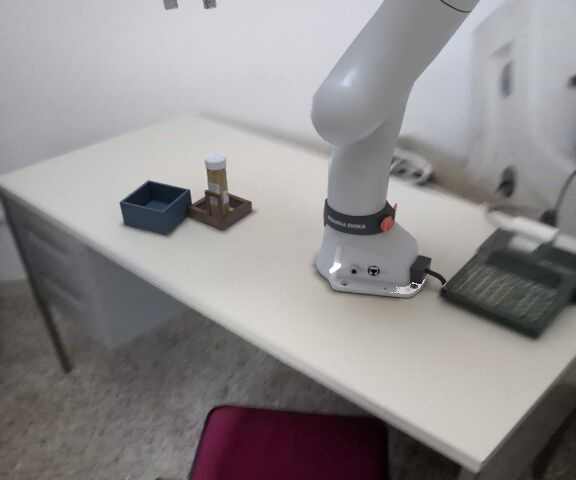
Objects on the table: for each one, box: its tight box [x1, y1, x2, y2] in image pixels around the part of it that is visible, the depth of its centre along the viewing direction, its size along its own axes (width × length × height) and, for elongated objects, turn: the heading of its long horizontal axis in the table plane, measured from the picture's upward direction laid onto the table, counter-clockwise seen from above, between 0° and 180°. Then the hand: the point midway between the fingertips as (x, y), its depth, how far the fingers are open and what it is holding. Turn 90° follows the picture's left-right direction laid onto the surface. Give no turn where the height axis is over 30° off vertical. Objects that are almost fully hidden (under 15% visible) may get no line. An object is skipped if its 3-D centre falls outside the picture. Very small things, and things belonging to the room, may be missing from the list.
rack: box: [187, 189, 253, 231], centre depth 133 cm, size 10×10×8 cm
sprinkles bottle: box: [204, 152, 231, 216], centre depth 132 cm, size 5×5×13 cm
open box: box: [118, 179, 193, 236], centre depth 133 cm, size 11×11×6 cm
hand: (191, 9), depth 101 cm, fingers open, 8 cm apart
